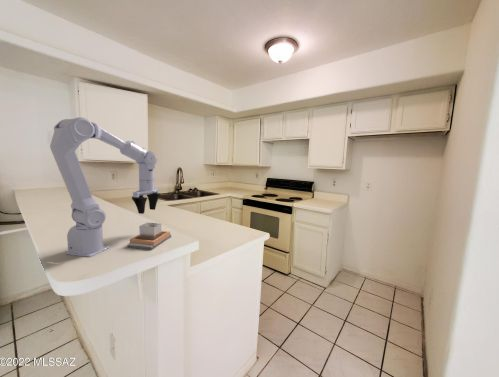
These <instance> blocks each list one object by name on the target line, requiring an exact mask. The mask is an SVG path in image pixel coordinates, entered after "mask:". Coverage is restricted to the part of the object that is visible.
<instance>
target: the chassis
mask: <svg viewBox="0 0 499 377" xmlns="http://www.w3.org/2000/svg"><path fill="white" fill-rule="evenodd" d="M170 238H172V233H171V231H166V230H161V236H160V237H158V238H157V239H155V240H153V241H151V240H141V239H140V233H139V234H137V235H135V236H133V237H131V238H129V243H127V248H133V249H141V250H142V249H143V250H150V251H151V250H152V251H153V250H154V249H155V248H156V247H159V246H160V245H161V244H163V243H164V242H166V241H167V240H169V239H170Z"/></svg>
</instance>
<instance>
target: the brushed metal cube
mask: <svg viewBox="0 0 499 377" xmlns="http://www.w3.org/2000/svg"><path fill="white" fill-rule="evenodd" d="M138 229H139V234H140V239H141V240H151V241H153V240H155V239H157V238H158V237H160V236H161V231H162V223H160V222H158V223H157V222H146V223H144V224H141V225H139V227H138Z"/></svg>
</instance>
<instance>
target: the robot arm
mask: <svg viewBox="0 0 499 377" xmlns="http://www.w3.org/2000/svg"><path fill="white" fill-rule="evenodd" d="M89 139H96V140H99V141H101V142H103V143H105V144H108V145H110V146H112V147H114V148H116V149H119V152H120V154H121V155H124V156H125V157H127V158H129V159H132V160H133V161H135V163H137V165H138V190H136V191H133V192H132V196H131V200H132V201H133V203H134V204H135V206H136V207H135V208H136V209H137V213H138V214H139V215H142V214H143V215H144V214H145V210H146V203H147V200H148V208H149V210H153V211H155V210H156V207H157V203H158V200H159V199H160V197H161V193H159V192H160V191H159V190H160V188H157V187H155V168H156V167H155V165H156V164H157V163H158V158H157V157H156V154H155V153H154V152H152V151H147V150H146V148H145V147H141V146H139V145H137V144H136V142H135V141H133V140H131V141H130V140H126V141H124V140H122V139H121V138H119V137H118V136H116V135H114V134H113V133H111V132H110V131H108V130H106V129H104V128H103V127H101V126H100V125H98V123H96V122H93V121H90V119H88V118H85V117H75V118H66V119H61V120H60V121H59V122H57V123H56V124H55V125H54V126H53V135H52V138H51V142H50V144H49V148H50V150H51V154H52V155H53V158H54V160H55V163H56V166H57V167H58V170H59V172H60V175H61V177H62V179H63V182H64V184H65V187H66V190H67V192H68V194H69V197H70V199H71V205H70V207H71V219H72V220H73V221H74V222H75V223H76V224H75V225H73V226H71V227H70V229H69V230H68V231H67V233H66V234H67V235H66V238H67V251H66V252H65V255H70V256H71V255H72V256H80V257H86V258H87V257H89V258H90V257H91V258H92V257H94V256H95V255H97V254H100V253H101V252H104V251H105V250H107V249H110V246H109V245H104V237H103V236H104V235H103V234H104V233H103V224H104V222H105V221H106V219H107V216H106V215H107V214H106V213H105V211H104V210H103V209H101V207H100V205H99V203H98V202H97V201H96V200H95V199H94V198H93V195H92V192H91V190H90V187H89V184H88V182H87V179H86V176H85V174H84V171H83V168H82V165H81V163H80V161H79V158H78V156H77V153H76V150H77V149H78V148H79V147H80V145H81V144H82V143H84V142H85V141H87V140H89ZM144 196H145V197H144Z"/></svg>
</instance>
